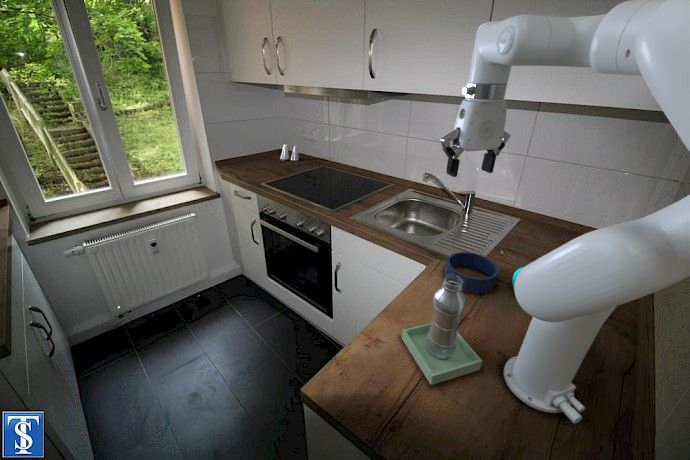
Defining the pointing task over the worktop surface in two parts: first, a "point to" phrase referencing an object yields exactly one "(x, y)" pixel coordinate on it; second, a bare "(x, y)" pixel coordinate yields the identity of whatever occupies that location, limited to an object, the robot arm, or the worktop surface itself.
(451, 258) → the blue ring
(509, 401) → the worktop surface
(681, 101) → the robot arm
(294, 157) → the shaker set
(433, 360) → the tray
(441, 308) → the plastic bottle
